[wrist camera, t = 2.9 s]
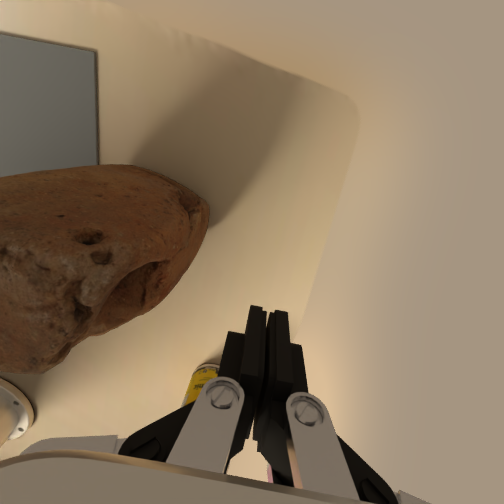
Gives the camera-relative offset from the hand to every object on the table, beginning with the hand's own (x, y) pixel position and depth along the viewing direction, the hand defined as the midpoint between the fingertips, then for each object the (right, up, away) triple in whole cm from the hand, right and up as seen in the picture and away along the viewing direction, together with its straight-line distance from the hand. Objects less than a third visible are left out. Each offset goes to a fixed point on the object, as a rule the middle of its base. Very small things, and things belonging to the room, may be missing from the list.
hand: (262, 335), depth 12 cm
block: (-10, +8, +17) cm, 22 cm away
